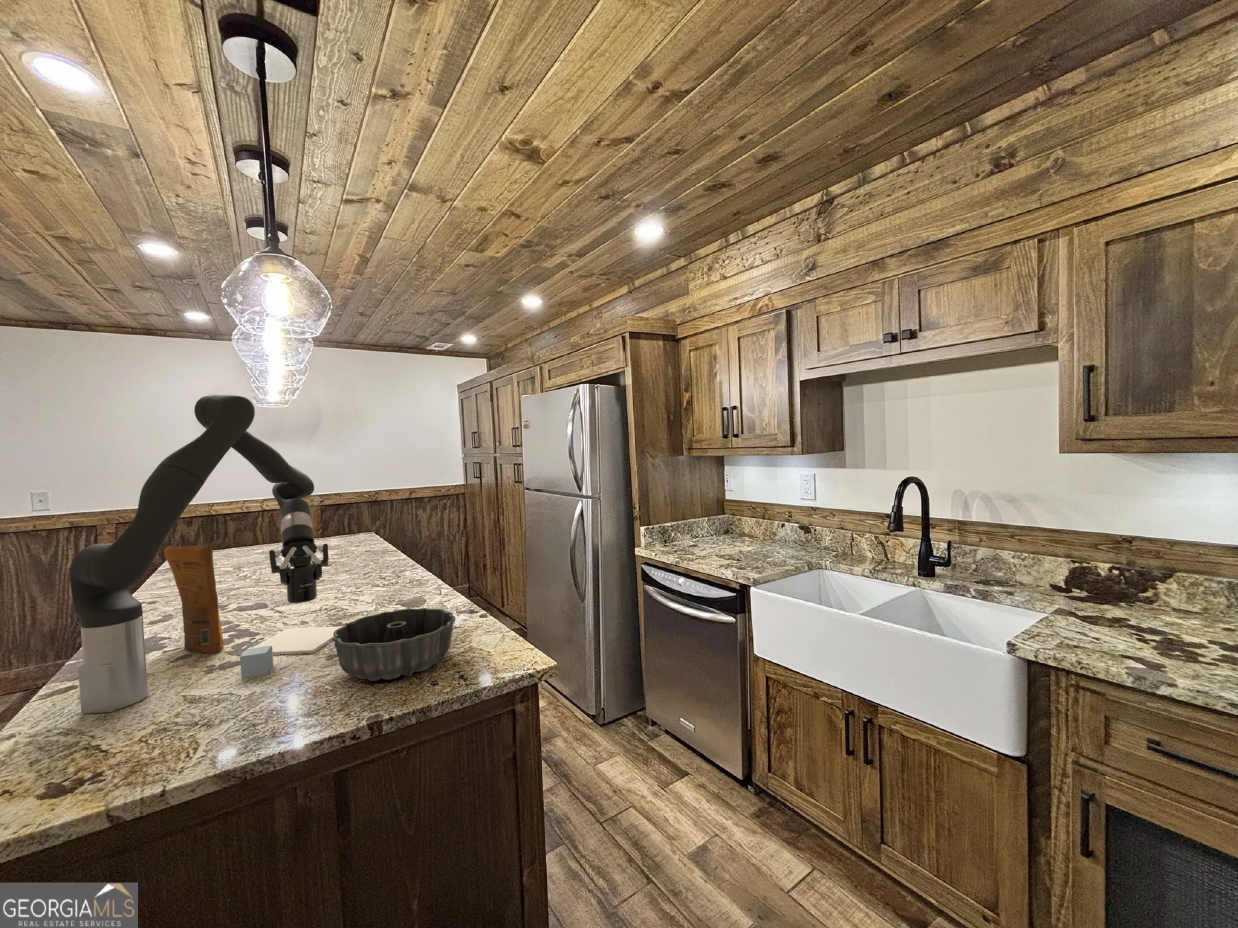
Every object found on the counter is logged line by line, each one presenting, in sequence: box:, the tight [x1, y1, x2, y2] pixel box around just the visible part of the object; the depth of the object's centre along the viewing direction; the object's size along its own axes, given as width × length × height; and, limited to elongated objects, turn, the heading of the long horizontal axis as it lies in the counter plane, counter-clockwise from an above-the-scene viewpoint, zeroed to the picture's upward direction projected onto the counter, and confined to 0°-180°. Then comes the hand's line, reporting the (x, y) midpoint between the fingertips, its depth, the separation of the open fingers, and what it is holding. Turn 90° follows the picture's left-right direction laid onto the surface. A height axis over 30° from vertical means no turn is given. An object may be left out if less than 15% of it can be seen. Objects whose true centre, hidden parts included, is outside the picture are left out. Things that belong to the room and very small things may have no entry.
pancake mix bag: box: [163, 545, 225, 654], centre depth 137 cm, size 7×19×28 cm, turn 63°
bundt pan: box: [331, 607, 456, 682], centre depth 120 cm, size 26×26×10 cm
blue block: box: [239, 646, 274, 679], centre depth 120 cm, size 5×5×5 cm
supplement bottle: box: [286, 554, 318, 604], centre depth 137 cm, size 7×7×12 cm
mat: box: [240, 625, 344, 656], centre depth 139 cm, size 18×18×1 cm
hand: (302, 580), depth 136 cm, fingers closed on supplement bottle, 7 cm apart
